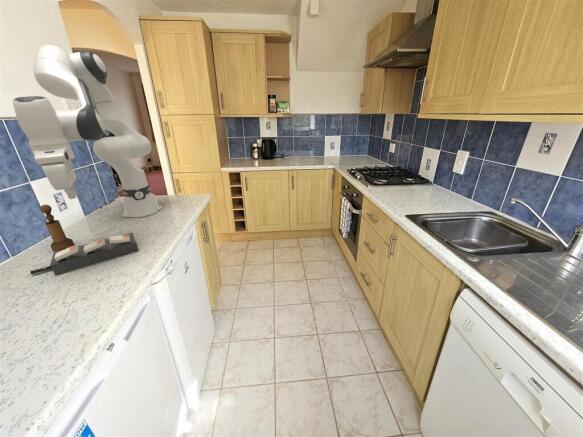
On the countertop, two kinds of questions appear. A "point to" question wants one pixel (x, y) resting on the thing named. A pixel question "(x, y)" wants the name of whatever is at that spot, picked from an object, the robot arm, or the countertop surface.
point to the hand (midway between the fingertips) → (73, 197)
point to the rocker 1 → (66, 252)
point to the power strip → (90, 256)
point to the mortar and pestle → (56, 231)
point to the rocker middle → (94, 245)
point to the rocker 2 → (119, 238)
